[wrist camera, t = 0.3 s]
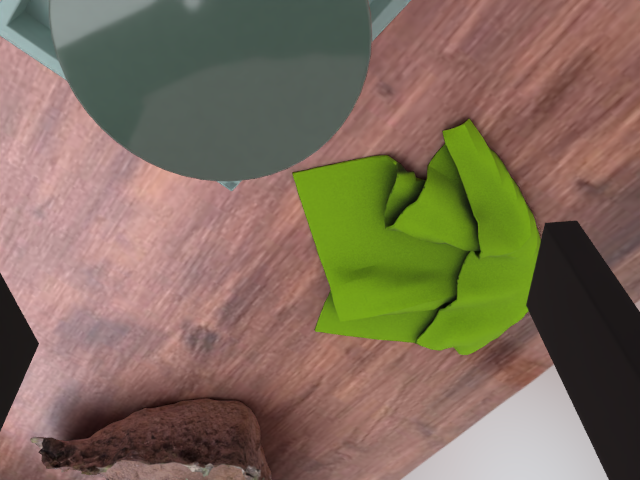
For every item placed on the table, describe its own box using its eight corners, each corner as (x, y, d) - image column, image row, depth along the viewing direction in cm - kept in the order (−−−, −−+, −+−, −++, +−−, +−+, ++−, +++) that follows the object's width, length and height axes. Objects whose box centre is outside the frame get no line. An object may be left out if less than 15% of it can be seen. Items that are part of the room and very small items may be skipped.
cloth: (482, 366, 49) (490, 389, 48) (237, 313, 44) (235, 336, 42) (637, 174, 38) (656, 194, 36) (331, 70, 32) (334, 87, 31)
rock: (17, 412, 55) (-32, 522, 48) (123, 319, 42) (77, 451, 35) (235, 486, 66) (220, 583, 60) (370, 431, 54) (371, 547, 47)
